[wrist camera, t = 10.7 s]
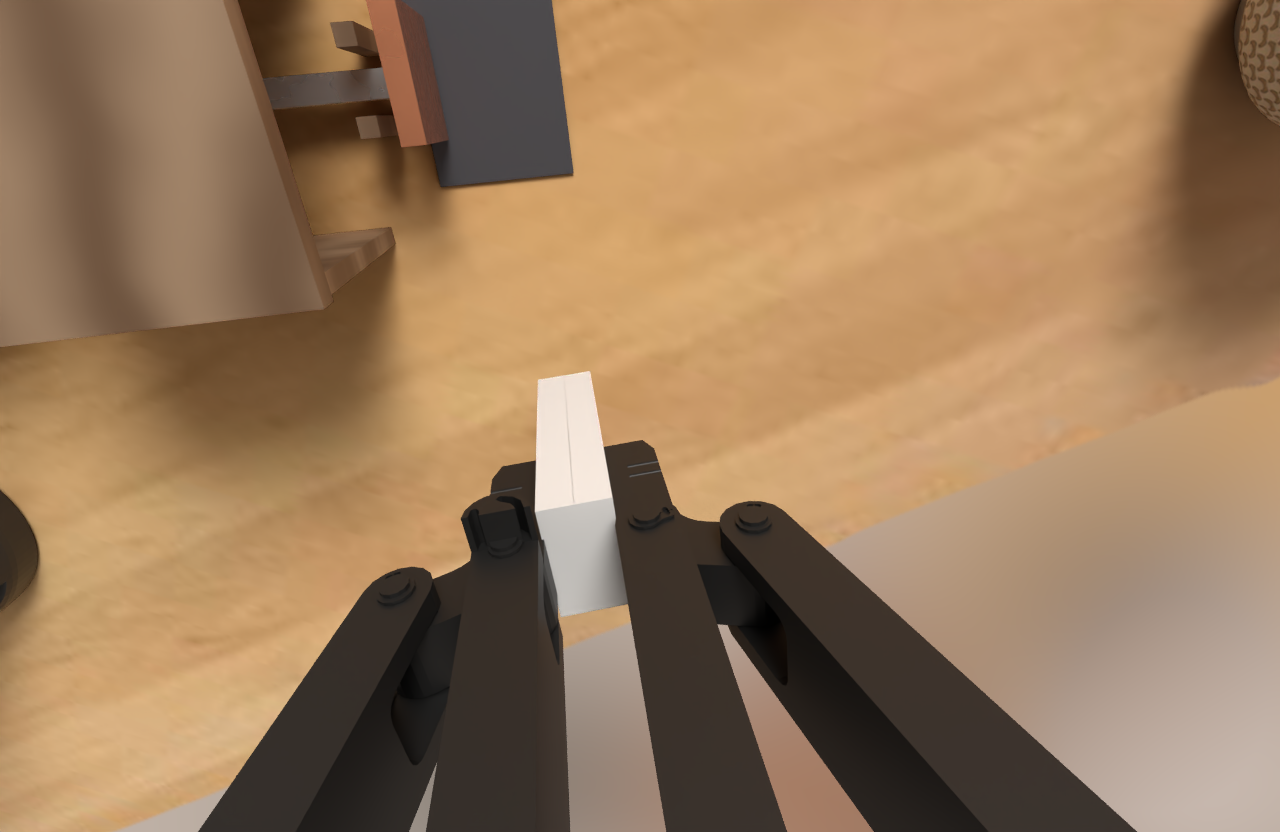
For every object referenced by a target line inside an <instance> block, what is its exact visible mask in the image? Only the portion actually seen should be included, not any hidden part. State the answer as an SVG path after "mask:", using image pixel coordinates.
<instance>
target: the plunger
mask: <svg viewBox="0 0 1280 832" xmlns="http://www.w3.org/2000/svg"><path fill="white" fill-rule="evenodd" d="M366 2H367V6H368V10H369V15H370V19H371V23H372V27H373V31H374V35H375V39H376V44H377V48H378V52H379V56H380V60H381V64H382V68H372V69H360V70H349V71H338V72H327V73H316V74H305V75H293V76H282V77H271V78H263V81H264V84H265V88H266V91H267V94H268V97H269V100H270V103H271V106H272V109H273V110H279V109H290V108H301V107H311V106H322V105H333V104H344V103H354V102H365V101H376V100H386V99H390V102H391V106H392V110H393V114H394V118H395V123H396V127H397V131H398V135H399V139H400V143H401V147H410V146H420V145H428V144H433V143H437V142H442V141H446V140H449V138H448V133H447V129H446V124H445V119H444V114H443V109H442V104H441V100H440V95H439V90H438V85H437V80H436V76H435V71H434V66H433V61H432V56H431V51H430V47H429V42H428V37H427V32H426V27H425V23H424V18H423V16H421V15H420V14H419V13H417V12H416V11H415V10H413V9H412V8H411V7H409V6H408V5H407V4H405V3H404V2H403V1H401V0H366Z"/></svg>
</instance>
